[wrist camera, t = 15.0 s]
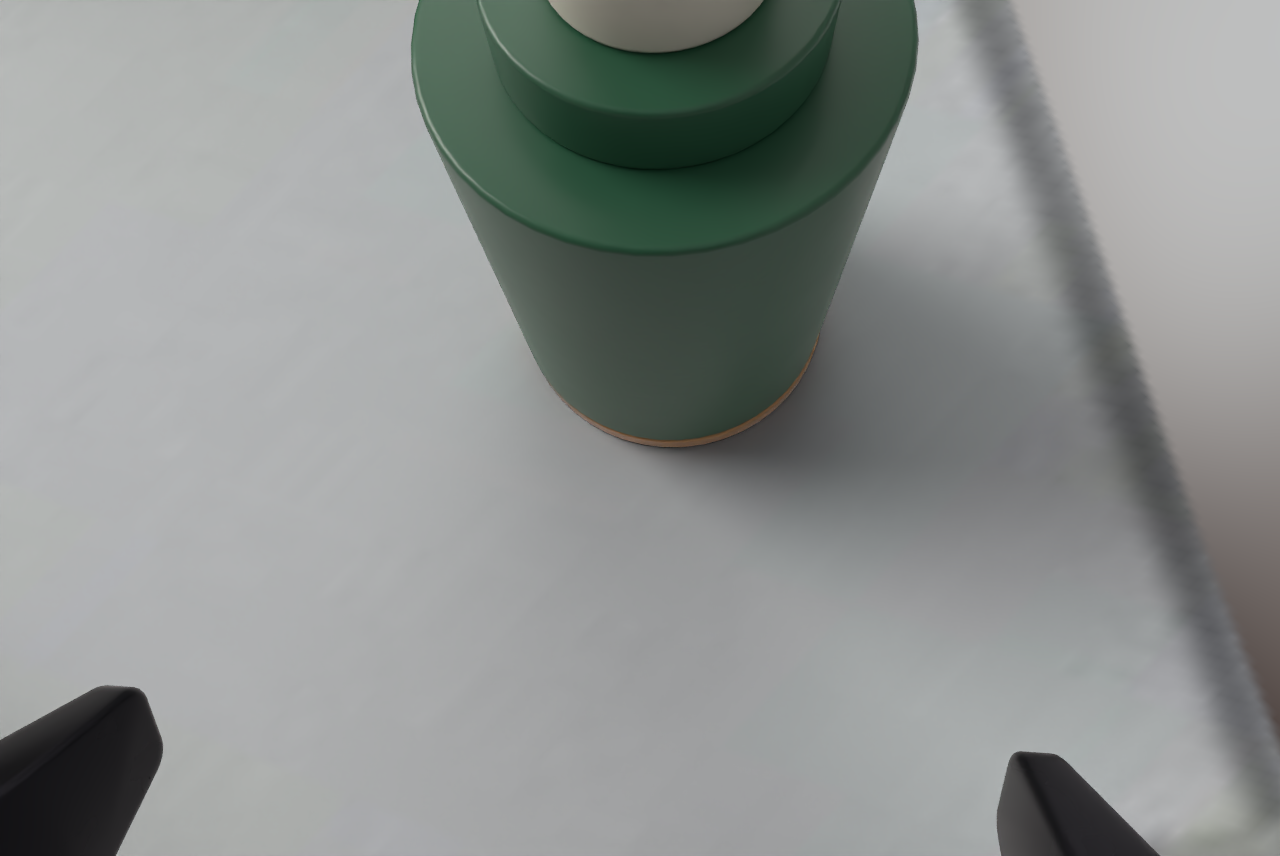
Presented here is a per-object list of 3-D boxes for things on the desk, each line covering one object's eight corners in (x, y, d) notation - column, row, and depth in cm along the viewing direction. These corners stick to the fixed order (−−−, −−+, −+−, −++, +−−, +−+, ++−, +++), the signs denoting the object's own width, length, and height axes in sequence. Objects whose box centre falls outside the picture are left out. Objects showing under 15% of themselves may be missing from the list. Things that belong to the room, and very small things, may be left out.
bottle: (835, 434, 16) (1111, -25, 6) (522, 448, 16) (232, 35, 6) (807, 160, 18) (980, -580, 7) (524, 176, 18) (302, -517, 8)
